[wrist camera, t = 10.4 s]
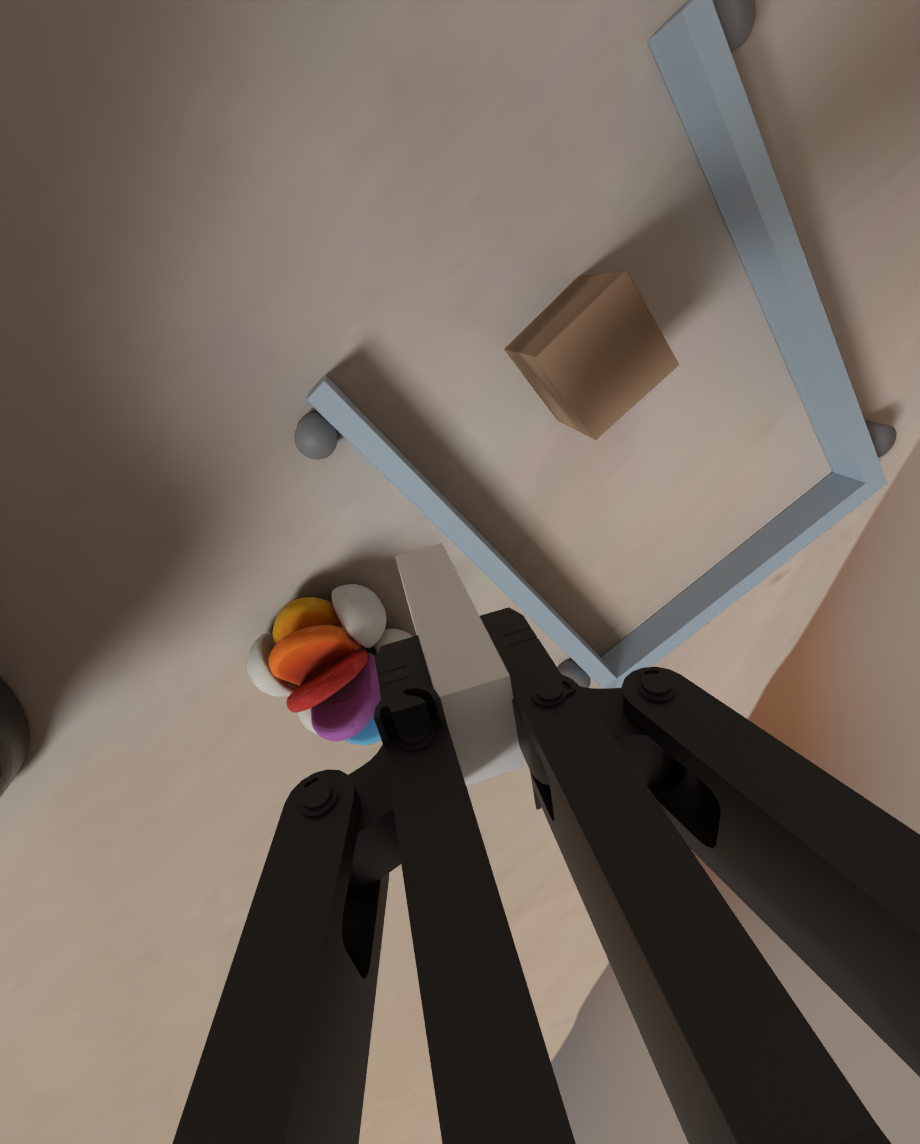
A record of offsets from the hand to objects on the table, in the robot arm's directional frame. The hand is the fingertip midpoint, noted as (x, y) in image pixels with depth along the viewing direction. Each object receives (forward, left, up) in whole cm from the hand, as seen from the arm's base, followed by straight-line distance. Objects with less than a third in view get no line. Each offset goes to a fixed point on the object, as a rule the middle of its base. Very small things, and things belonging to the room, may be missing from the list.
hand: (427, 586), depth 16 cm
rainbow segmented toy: (+6, -10, -14) cm, 18 cm away
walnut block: (+2, +11, -14) cm, 18 cm away
